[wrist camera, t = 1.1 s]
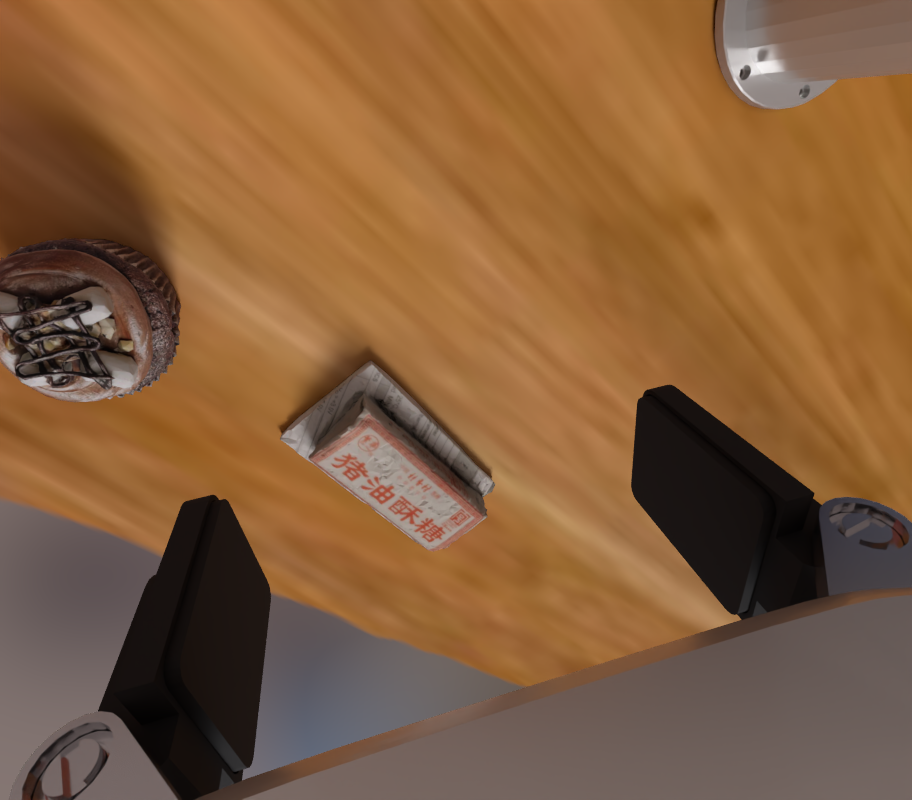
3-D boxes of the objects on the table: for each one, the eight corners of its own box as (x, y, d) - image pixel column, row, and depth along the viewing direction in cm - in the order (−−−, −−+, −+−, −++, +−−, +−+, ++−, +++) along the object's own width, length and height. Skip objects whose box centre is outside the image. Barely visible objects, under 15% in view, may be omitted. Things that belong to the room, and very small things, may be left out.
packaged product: (510, 509, 44) (425, 573, 46) (494, 477, 49) (416, 536, 50) (376, 380, 35) (274, 465, 36) (369, 353, 39) (278, 430, 41)
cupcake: (-12, 244, 30) (-144, 294, 21) (154, 209, 31) (92, 242, 22) (78, 381, 35) (0, 466, 26) (219, 346, 36) (187, 416, 27)
